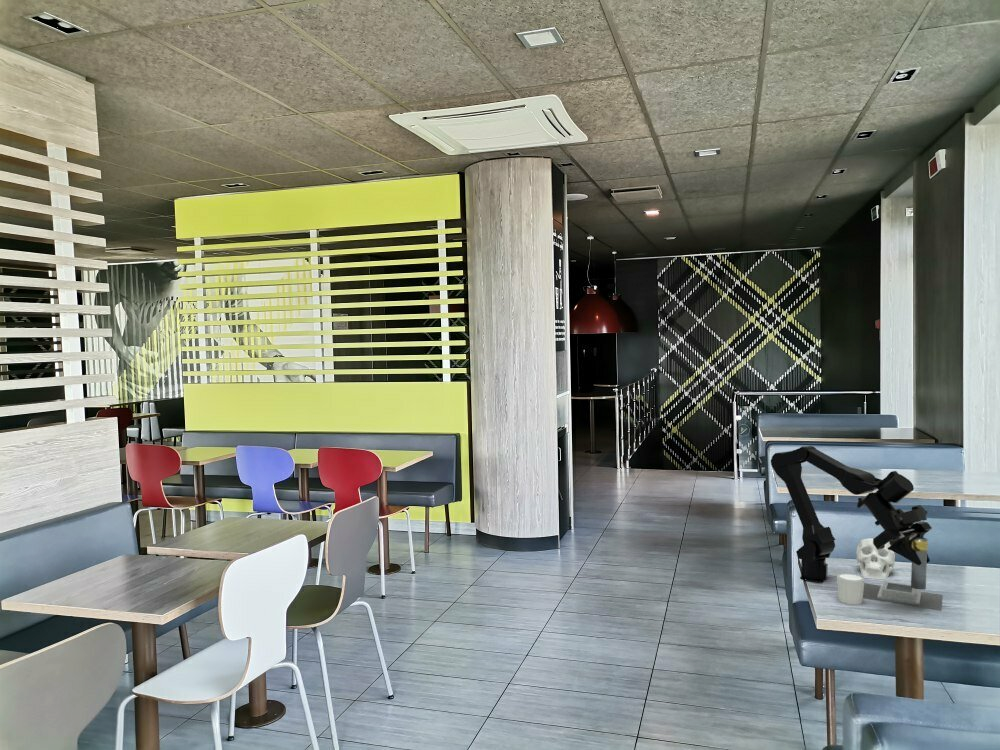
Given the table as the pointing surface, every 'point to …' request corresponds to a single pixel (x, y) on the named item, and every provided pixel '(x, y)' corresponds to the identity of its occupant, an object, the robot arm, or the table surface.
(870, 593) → the mat
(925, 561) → the grey yellow-banded cylinder
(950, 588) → the table surface
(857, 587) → the white cylinder
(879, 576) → the skull bowl
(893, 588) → the silver square tray
